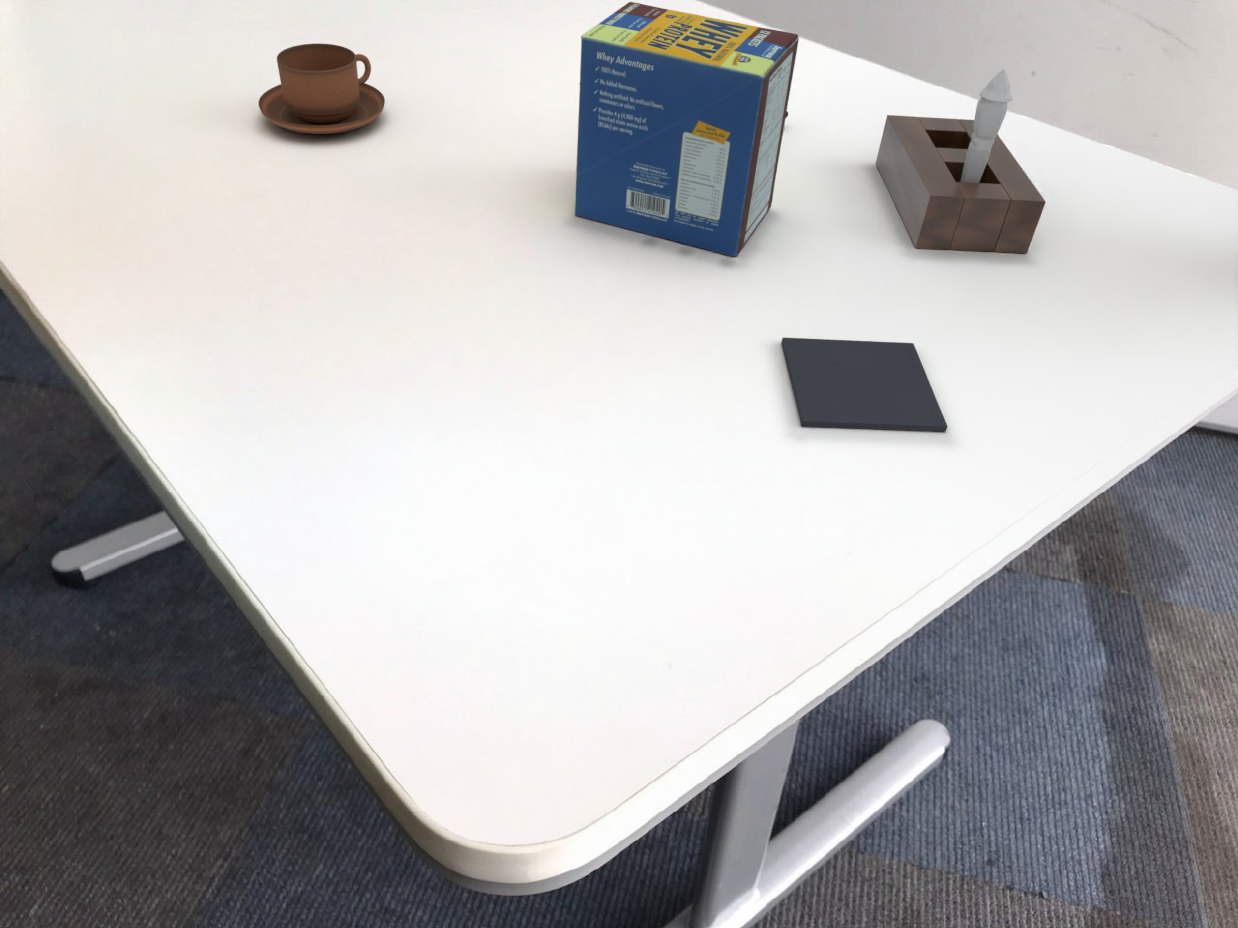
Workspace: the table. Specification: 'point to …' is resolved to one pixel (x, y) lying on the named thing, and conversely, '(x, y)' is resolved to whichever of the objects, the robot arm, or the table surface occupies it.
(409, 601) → the table surface
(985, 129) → the pen
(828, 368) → the mat
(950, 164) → the pen stand
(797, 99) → the table surface
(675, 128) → the protein box
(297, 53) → the cup and saucer
